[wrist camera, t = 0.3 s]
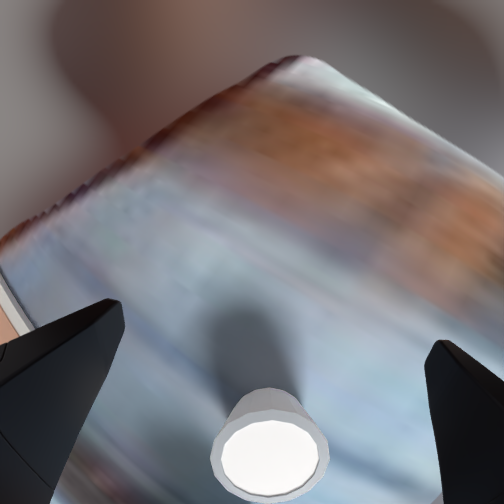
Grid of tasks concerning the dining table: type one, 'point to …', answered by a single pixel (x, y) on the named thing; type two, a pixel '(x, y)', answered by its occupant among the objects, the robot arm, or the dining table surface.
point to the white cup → (269, 448)
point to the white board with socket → (11, 316)
